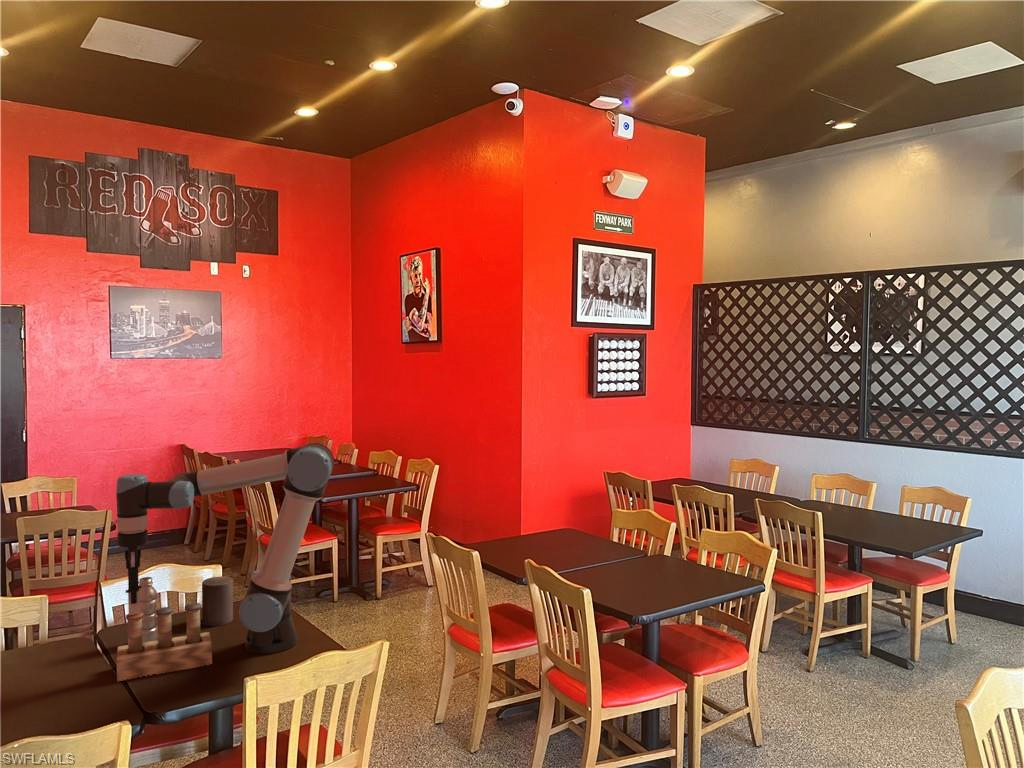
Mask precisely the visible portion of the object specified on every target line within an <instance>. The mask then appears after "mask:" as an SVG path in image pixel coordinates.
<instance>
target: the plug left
mask: <svg viewBox="0 0 1024 768" xmlns="http://www.w3.org/2000/svg"><path fill="white" fill-rule="evenodd" d="M201 609H202V603H200V602H191V603H188V604H186V605H184V611H185V613H186V614H185V615H186V617H185V618H186V622H185V623H186V636H187V644H193V643H199V642H200V633H201Z"/></svg>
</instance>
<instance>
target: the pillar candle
mask: <svg viewBox="0 0 1024 768" xmlns="http://www.w3.org/2000/svg"><path fill="white" fill-rule="evenodd" d="M233 581H234V579H233V578H232V577H229V576H224V575H223V576H213V577H212V576H211V577H209V578H208V577H207V578H205V579H204V580H203V581H202V583H201V616H202V621H201V624H202V625H203V626H205V625H206V627H219V626H223V625H224V624H225V625H227V624H230V623H231V622H232V621H234V582H233ZM225 625H224V626H225Z"/></svg>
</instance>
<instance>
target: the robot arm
mask: <svg viewBox="0 0 1024 768" xmlns="http://www.w3.org/2000/svg"><path fill="white" fill-rule="evenodd" d="M334 466H335V457H334V454H333V452H332V451H331V449H330V448H329V447H328V446H326V445H324V444H323V443H318V442H310V443H307V444H303V445H301V446H297V447H295V448H288V449H286V450H284V452H283V453H282V454H277V455H275V454H274V455H271V456H266V457H260V458H256V459H251V460H246V461H241V462H236V463H230V464H226V465H221V466H216V467H210V468H206V469H201V470H196V471H192V472H191V471H185V472H180V473H178V474H176V475H175V476H173V477H172V478H170V479H169V480H167V481H148V479H147V475H145V474H139V473H132V474H124V475H121V476H119V477H118V478H117V480H116V491H115V495H116V518H117V519H115V520H114V524H116V525H117V526H116V527H117V531H118V532H117V534H116V535H117V537H116V538H117V543H116V544H117V546H118V547H120V548H127V549H128V550H125V551H124V559H125V568H126V569H127V582H128V583H127V585H128V589H125V594H128V595H127V602H128V614H129V615H135V614H140V609H139V589H140V588H142V586H139V569H140V567H141V557H142V549H139V546H140V547H141V546H144V545H146V544H147V543H148V541H149V540H148V538H149V537H148V531H149V530H148V529H147V528H148V527H149V525H148V523H149V522H148V520H149V519H148V515H149V514H148V510H156V509H157V510H158V509H166V510H168V509H176V510H180V509H184V508H186V509H187V508H190V507H191V506H192V504H193V502H194V500H195V499H194V498H197V497H201V496H205V495H210V494H215V493H221V492H226V491H231V490H236V489H241V488H245V487H251V486H256V485H260V484H261V485H262V484H265V483H270V482H276V481H281V480H283V484H282V489H283V491H284V492H285V495H284V498H283V502H282V504H281V507H280V510H279V513H278V516H277V519H276V522H275V525H274V528H273V530H272V533H271V537H270V539H269V542H268V545H267V548H266V550H265V554H264V556H263V560H262V563H261V565H260V568H259V569H257V570H256V569H255V570H254V571H253V572H251V574H250V578H249V584H248V587H247V589H246V593H245V595H244V598H243V600H242V601H241V603H240V604H239V610H238V616H239V620H240V622H241V624H242V625H243V626H244V628H246V629H248V631H247V633H246V637H245V649H246V650H247V651H249V652H250V653H254V654H255V653H256V654H273V653H274V654H275V653H278V652H279V653H280V652H282V651H286V650H288V649H290V648H292V647H294V646H295V645H297V643H298V632H297V629H296V626H295V624H294V623H295V622H294V621H293V618H292V587H293V585H292V583H291V582H292V581H291V580H292V577H291V574H292V571H293V568H294V565H295V562H296V559H297V557H298V554H299V551H300V548H301V546H302V545H301V544H302V541H303V539H304V537H305V533H306V530H307V527H308V524H309V521H310V518H311V515H312V512H313V509H314V506H315V504H316V502H319V500H322V499H323V496H324V494H325V491H326V489H327V485H328V482H329V479H330V478H331V475H332V473H333V470H334Z"/></svg>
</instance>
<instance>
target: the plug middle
mask: <svg viewBox="0 0 1024 768" xmlns="http://www.w3.org/2000/svg"><path fill="white" fill-rule="evenodd" d="M173 610H174V609H173V607H170V606H165V607H164V606H163V607H159V608H156V621H157V627H158V638H157V640H158V649H163V648H169V647H172V638H173V631H172V628H173V627H172V622H173V621H172V613H173V612H174V611H173Z"/></svg>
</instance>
